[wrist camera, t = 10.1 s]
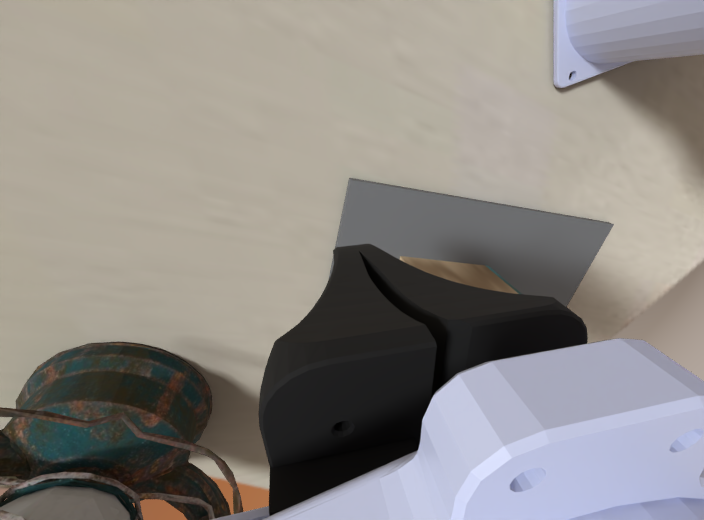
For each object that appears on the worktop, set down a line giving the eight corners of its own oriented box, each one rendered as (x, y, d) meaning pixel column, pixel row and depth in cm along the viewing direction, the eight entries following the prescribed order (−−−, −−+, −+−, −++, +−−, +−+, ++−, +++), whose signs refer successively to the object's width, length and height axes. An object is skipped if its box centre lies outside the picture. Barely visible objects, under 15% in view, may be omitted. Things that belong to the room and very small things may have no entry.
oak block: (525, 296, 22) (423, 287, 20) (499, 347, 23) (404, 344, 22) (488, 265, 26) (400, 256, 24) (468, 311, 27) (385, 306, 25)
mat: (608, 222, 26) (613, 224, 26) (533, 354, 32) (537, 357, 32) (349, 177, 21) (350, 179, 20) (315, 347, 27) (315, 351, 26)
